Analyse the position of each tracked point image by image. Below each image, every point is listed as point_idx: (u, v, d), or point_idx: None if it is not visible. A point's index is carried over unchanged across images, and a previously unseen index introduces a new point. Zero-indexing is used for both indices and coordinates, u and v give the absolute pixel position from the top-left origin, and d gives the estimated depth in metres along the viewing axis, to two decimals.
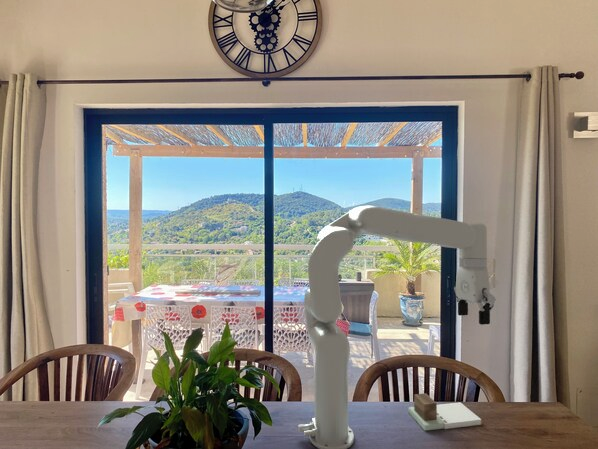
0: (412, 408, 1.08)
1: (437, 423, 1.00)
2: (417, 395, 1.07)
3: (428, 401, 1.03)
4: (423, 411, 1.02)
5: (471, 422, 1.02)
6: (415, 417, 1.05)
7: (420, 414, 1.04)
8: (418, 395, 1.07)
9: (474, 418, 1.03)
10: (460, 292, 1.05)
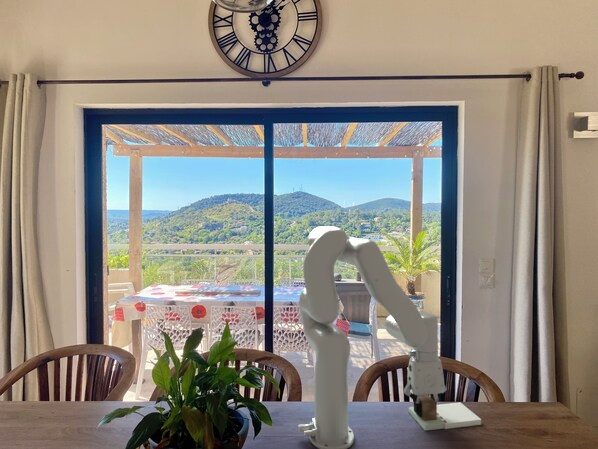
0: (412, 408, 1.08)
1: (437, 423, 1.00)
2: None
3: (428, 401, 1.03)
4: (423, 411, 1.02)
5: (471, 422, 1.02)
6: (415, 417, 1.05)
7: None
8: None
9: (474, 418, 1.03)
10: (423, 388, 1.02)
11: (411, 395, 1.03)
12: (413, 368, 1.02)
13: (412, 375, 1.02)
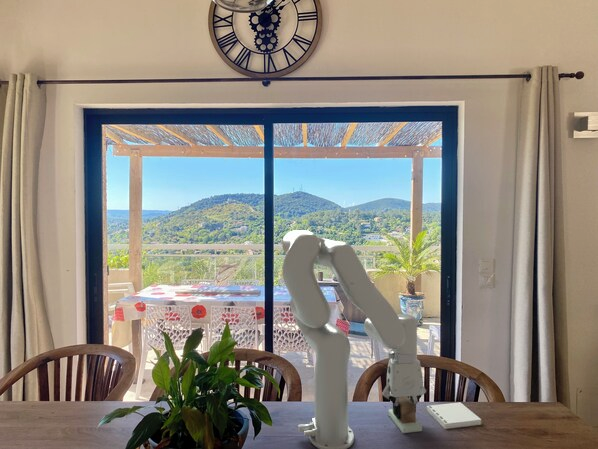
0: (392, 410, 1.07)
1: (415, 426, 0.99)
2: None
3: (407, 403, 1.02)
4: (402, 413, 1.01)
5: (471, 422, 1.02)
6: (394, 419, 1.03)
7: None
8: None
9: (474, 418, 1.03)
10: (402, 391, 1.00)
11: (390, 397, 1.02)
12: (392, 370, 1.01)
13: (391, 377, 1.01)
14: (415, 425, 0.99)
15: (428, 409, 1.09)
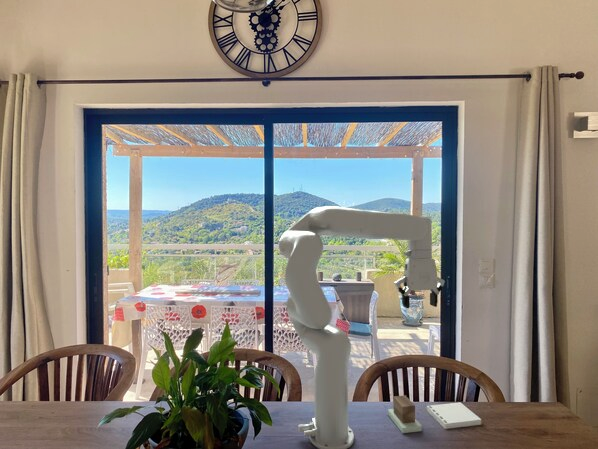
0: (392, 410, 1.07)
1: (415, 426, 0.99)
2: (396, 397, 1.06)
3: (406, 403, 1.02)
4: (401, 413, 1.01)
5: (471, 422, 1.02)
6: (394, 419, 1.03)
7: (399, 416, 1.02)
8: (397, 397, 1.06)
9: (474, 418, 1.03)
10: (418, 284, 1.09)
11: (399, 288, 1.10)
12: (408, 265, 1.09)
13: (407, 272, 1.10)
14: (415, 425, 0.99)
15: (428, 409, 1.09)
